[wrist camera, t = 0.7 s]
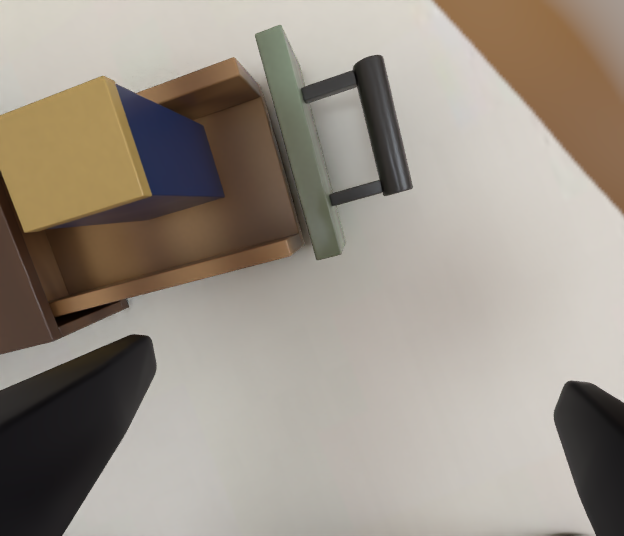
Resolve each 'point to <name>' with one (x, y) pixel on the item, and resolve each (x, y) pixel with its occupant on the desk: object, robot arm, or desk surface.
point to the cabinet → (32, 294)
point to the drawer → (229, 185)
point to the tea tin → (103, 159)
